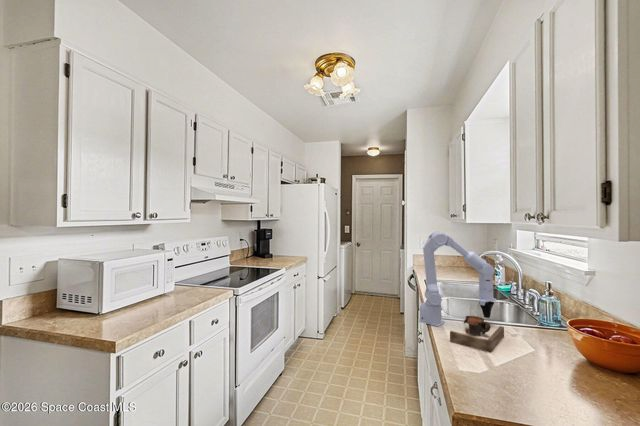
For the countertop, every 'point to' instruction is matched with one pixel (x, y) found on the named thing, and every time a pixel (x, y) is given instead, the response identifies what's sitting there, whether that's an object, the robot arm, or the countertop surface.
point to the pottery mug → (476, 325)
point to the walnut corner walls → (478, 340)
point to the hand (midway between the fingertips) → (486, 317)
